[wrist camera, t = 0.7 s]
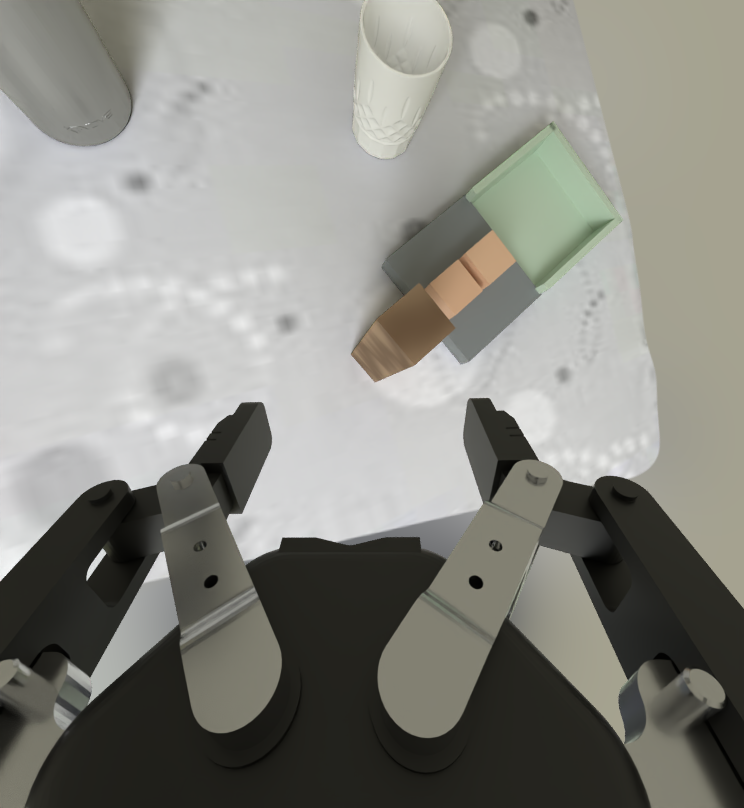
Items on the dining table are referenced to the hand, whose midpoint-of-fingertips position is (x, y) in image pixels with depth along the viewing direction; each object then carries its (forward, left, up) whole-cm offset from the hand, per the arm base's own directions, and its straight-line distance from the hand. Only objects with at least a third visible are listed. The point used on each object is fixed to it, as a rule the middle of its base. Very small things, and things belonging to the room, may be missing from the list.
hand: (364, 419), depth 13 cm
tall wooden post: (-3, +8, -23) cm, 24 cm away
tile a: (-4, +17, -21) cm, 27 cm away
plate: (-5, +20, -23) cm, 31 cm away
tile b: (-5, +22, -21) cm, 30 cm away
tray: (-7, +32, -23) cm, 40 cm away
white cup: (-24, +21, -23) cm, 39 cm away
